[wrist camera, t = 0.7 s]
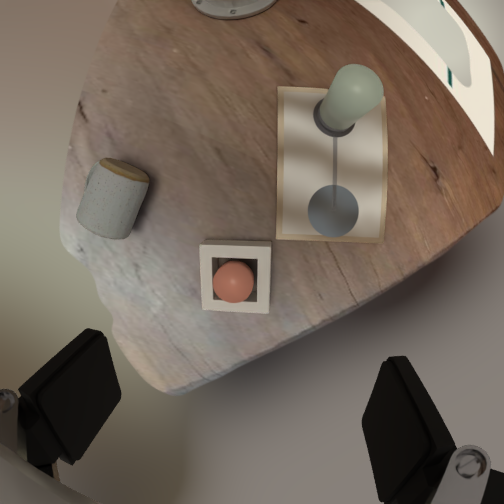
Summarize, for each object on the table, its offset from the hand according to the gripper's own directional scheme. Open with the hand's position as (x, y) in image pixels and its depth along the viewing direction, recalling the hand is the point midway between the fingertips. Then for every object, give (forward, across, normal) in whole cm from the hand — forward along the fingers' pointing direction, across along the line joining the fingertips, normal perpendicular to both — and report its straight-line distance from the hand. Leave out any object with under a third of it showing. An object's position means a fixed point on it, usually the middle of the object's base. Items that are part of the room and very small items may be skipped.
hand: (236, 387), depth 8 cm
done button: (+24, +4, +5) cm, 24 cm away
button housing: (+26, +4, +5) cm, 27 cm away
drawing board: (+26, -7, -9) cm, 29 cm away
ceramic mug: (+27, +20, -5) cm, 34 cm away
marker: (+25, -7, -14) cm, 30 cm away
